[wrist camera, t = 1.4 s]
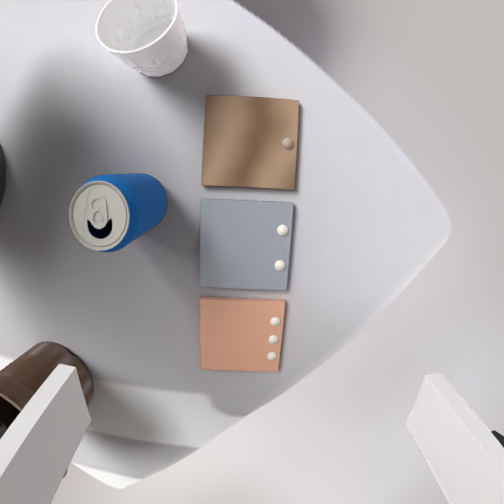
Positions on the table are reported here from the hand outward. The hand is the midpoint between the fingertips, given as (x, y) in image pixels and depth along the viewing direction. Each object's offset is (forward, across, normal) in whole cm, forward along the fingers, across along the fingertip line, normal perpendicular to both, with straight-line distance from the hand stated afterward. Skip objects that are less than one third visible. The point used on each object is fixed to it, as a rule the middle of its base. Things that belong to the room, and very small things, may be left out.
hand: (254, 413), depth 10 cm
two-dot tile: (+27, 0, 0) cm, 27 cm away
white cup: (+27, -11, +22) cm, 37 cm away
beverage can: (+27, -12, +4) cm, 30 cm away
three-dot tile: (+27, 0, -12) cm, 29 cm away
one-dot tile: (+27, 0, +12) cm, 29 cm away
